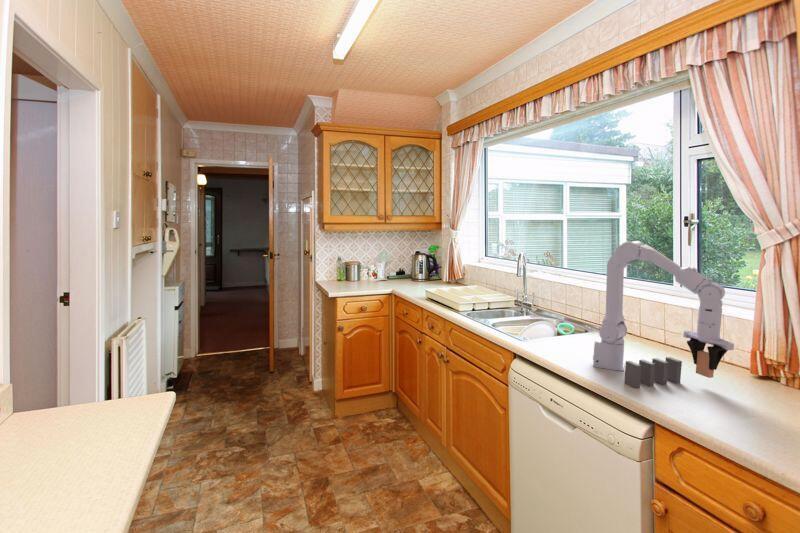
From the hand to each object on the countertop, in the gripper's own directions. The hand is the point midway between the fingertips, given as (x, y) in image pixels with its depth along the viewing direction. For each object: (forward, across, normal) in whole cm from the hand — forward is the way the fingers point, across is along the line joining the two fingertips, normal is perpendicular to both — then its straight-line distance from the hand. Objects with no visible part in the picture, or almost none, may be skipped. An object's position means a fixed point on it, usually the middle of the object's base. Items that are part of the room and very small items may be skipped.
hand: (705, 366), depth 133 cm
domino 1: (+6, +7, +20) cm, 22 cm away
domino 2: (+6, +7, +15) cm, 18 cm away
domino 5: (+3, 0, 0) cm, 3 cm away
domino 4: (+6, +7, +5) cm, 10 cm away
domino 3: (+6, +7, +10) cm, 14 cm away
